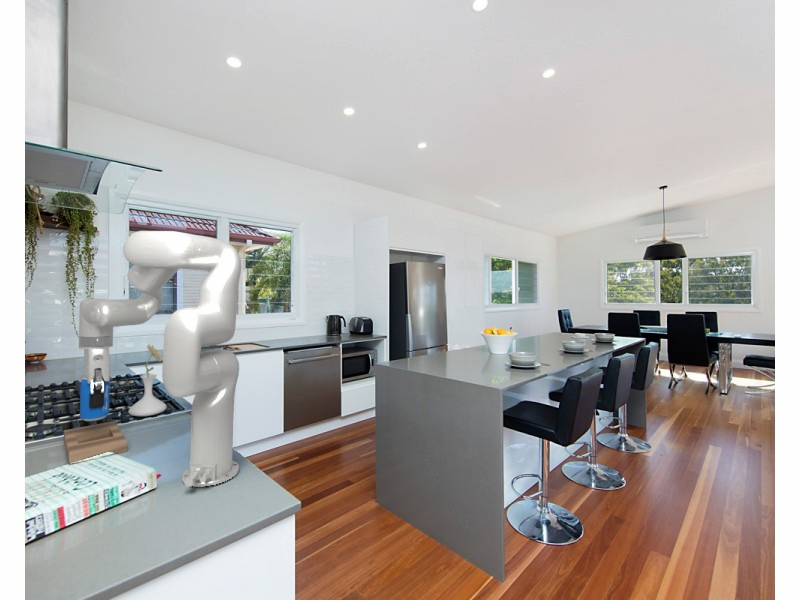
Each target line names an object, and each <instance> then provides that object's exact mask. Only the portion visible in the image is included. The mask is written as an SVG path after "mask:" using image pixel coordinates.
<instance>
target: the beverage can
mask: <svg viewBox="0 0 800 600" xmlns="http://www.w3.org/2000/svg"><path fill="white" fill-rule="evenodd" d="M92 380H93V379H92ZM94 382H96V381H93V383H94ZM103 382H104V383H103V384H104V406H103V407H98V408H92V409H90V408H89V394H91V387H90V386H91V385H90V384H88V383H87V379H86V378H85V376H83V377H82V380H81V381H80V383H79V385H80V388H79V389H80V391H79V392H80V393H79V395H80V397H79V419H81V420H82V421H84V422H94V421H100V420H103V419H105V418H106V417H107V416H108V415H110V396H111V395H110V392H111V391H110V389H111V388H110V386H111V384H110V383H111V380H110V381H109V382H106V381H104V378H103ZM94 386H96V385H93V387H94ZM93 390H94V389H93Z"/></svg>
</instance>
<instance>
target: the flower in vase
mask: <svg viewBox="0 0 800 600" xmlns="http://www.w3.org/2000/svg"><path fill="white" fill-rule="evenodd" d="M146 347H147V350H148V351H149V353H150V355H149V357H148V359H147V361H146V364H145V363H144V366H145V369H146V371H145V373H146V374H143V375H140V379H141V380H142V382H143V384H144V385H143V386H144V394H143V395H142V398H141V399H139V400H138V401H137V402H135V403H134V404H133V405H132V406H130V408H129V409H128V414H129V415H130V416H133V417H134V416H135V417H148V416H154V415H157V414H159V413H162V412H164V411H166V409H167V407H168V406H167V404H166V403H165V402H164V401H162V400H160V399H158V398H157V397H155V396H154V394H153V384H154V381H155V379H156V377H157V376H158V375H157V374H155V373H154V374H153V373H152V374H151V373H150V374H149V372H150V371H152V370H154V369H155V368H154V367H153V366H151V367H150V369H149V368H148V365H149V364H148V363H149V361H150V359H151V358H152V357H153V358H154V359H155V360H157V361H158V362H160V363H161V362H163V355H161V354H160V352H159V350H158V348H157V349H156V348H155V346H154V345H153V344H151V343H148V344H147V346H146Z"/></svg>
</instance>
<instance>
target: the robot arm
mask: <svg viewBox="0 0 800 600" xmlns="http://www.w3.org/2000/svg"><path fill="white" fill-rule="evenodd" d="M122 248H123V249H122V252H123V255H124V257H125V260H126V261H127V262H128V263H130V264H131V265H132V266H131V268H129V270H128V272H127V275H126V276H127V280H128V282H129V283H130V284H131V286H133V288H135V289H136V290H138V291H139V292H142V294H141V295H139V297H138V298H136V299H135V298H133V299H127V298H126V299H107V298H85V299H82V300H81V301H80V302H79V316H78V317H79V318H78V323H79V324H78V349H81V350H83V372H84V377H85V378H86V379H87V383H88V384H90V385H91V386H90V387H91V394H89V408H90V409H92V408H98V407H103V406H104V384H103V383H104V382H103V378H104V381H106V382H109V381H110V382H111V375H110V374H111V373H110V371H111V369H110V366H111V365H110V362H111V361H110V348H113V346H114V327H115V328H116V327H117V328H118V327H123V326H138V325H142V324H145V323H147V322H148V321H149V320H151V319H152V317H153V316H155V315H156V313H158V311H159V310H160V309H161V307H162V305H163V300H164V292H163V287H164V286H165V285H166V284H167V282H169V280H171V278H172V277H173V276H174V275H175V274H176V273H177V272H178V271H179V270H191V271H192V270H193V271H207V272H208V274H206V275H205V277H204V279H203V280H202V283H201V284H200V287H199V293H198V305H197V307H196V306H195V307H193V306H192V307H184V308H180V309H178V310H176V311H174V312H173V313H172V314H171V315H170V316H169V317H168V320H167V321H166V323H165V327H164V335H163V352H162V360H163V361H162V369H161V371H162V372H161V373H162V374H161V375H162V383H163V386H164V389H165V390H166V392H167V394H169V395H171V396H172V397H174V398H180V399H181V398H186V397H190V396H194V397H193V399H192V404H191V414H190V415H191V416H190V442H189V443H190V444H189V445H190V448H189V454H190V455H189V467H188V468H186V469H185V470H184V471H183V473H182V478H181V479H182V480H181V481H182V482H183V484H184V486H185V487H187V488H190V487H192V486H193V488H206V487H205V486H209V487H211V486H210V485H214V486H217V485H216V484H218V485H220V484H219V483H221V484H223V483H222V482H224V483H225V481H226V482H228V481H230V480H232V479H233V478H234V477H236V475H237V474H238V472H239V468H240V467H239V466H240V465H239V463H238V462H237V461H235V460H233V449H234V448H233V446H234V443H233V441H234V413H235V395H236V394H235V393H236V388H237V384H238V383H237V382H238V378H239V374H240V363H239V359H238V358H237V356H236V354H235V353H234V352H232V351H231V350H228V349H224V348H213V349H209V350H203V351H201V350H202V348H205V347H206V348H207V347H211V346H212V347H213V346H218V345H222V344H226V343H228V342H229V341H230V340H232V339H233V337H234V336H235V333H236V326H237V325H236V323H237V311H238V309H237V307H238V306H237V305H238V289H239V284H240V278H241V273H242V260H241V256H240V254H239V252H238V251H237V249H236V248H235V247H234V246H233V245H232V244H230V243H229V242H226V241H224V240H222V239H219V238H215V237H210V236H206V235H205V236H204V235H200V234H199V235H198V234H194V233H193V234H192V233H187V232H181V231H176V230H175V231H174V230H138V231H135V232H133V233H132V234H130V235H129V236H128V237H127V238H126V239H125V242H124V244H123V247H122ZM92 379H93V380H92ZM93 381H96V382H94V383H93ZM93 385H96V386H94V387H93ZM93 389H94V390H93ZM232 477H233V478H232ZM229 479H230V480H229ZM227 480H228V481H227Z"/></svg>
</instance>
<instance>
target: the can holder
mask: <svg viewBox="0 0 800 600" xmlns="http://www.w3.org/2000/svg"><path fill="white" fill-rule="evenodd" d="M63 442H64V443H63V444H64V447H65V453H66V457H67V461H69V462H68V464H69V463H72V462H75V461H79V460H83V459H86V458H90V457H93V456H96V455H100V454H103V453H106V452H113V453H119V454H122V453H121V452H123V453H127V452H128V441H127V439H126V437H125V436H124V434H123V432H122V431H121V429H120V427H119V425H118V423H117V422H116V420H114V421H108V422H103V423H98V424H91V425H87V426H80V427H76V428H71V429H64V430H63Z"/></svg>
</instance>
